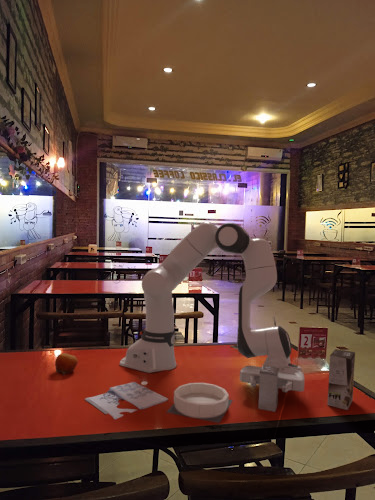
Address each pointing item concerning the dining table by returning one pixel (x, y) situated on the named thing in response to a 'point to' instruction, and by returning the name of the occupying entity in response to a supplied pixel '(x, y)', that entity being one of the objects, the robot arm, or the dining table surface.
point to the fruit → (65, 363)
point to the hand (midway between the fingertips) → (268, 386)
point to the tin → (268, 388)
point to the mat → (215, 419)
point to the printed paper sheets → (127, 392)
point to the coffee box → (341, 379)
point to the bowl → (201, 400)
